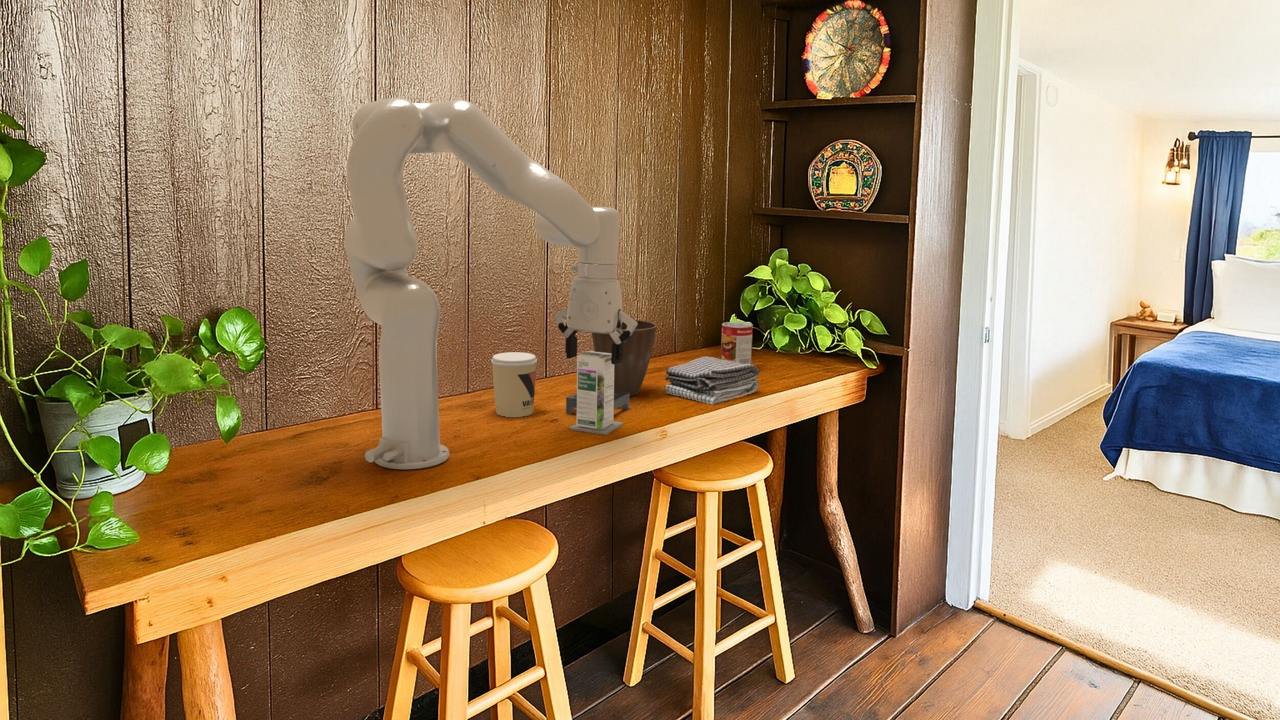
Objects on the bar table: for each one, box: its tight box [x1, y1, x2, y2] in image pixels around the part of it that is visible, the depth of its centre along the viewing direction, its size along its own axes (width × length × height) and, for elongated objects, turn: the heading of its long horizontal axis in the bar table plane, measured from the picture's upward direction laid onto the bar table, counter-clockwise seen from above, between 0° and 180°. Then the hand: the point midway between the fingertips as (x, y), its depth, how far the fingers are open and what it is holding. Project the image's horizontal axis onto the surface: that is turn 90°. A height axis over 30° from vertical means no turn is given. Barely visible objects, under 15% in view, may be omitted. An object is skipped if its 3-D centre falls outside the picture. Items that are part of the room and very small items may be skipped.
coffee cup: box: [490, 351, 538, 418], centre depth 180 cm, size 9×9×12 cm
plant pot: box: [591, 319, 657, 397], centre depth 198 cm, size 15×15×16 cm
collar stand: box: [565, 391, 631, 415], centre depth 183 cm, size 10×10×4 cm
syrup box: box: [575, 350, 615, 430], centre depth 170 cm, size 6×6×14 cm
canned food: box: [720, 321, 754, 364], centre depth 224 cm, size 8×8×12 cm
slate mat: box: [568, 420, 624, 436], centre depth 171 cm, size 8×8×1 cm
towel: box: [664, 356, 761, 406], centre depth 200 cm, size 15×18×8 cm
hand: (593, 360), depth 168 cm, fingers open, 9 cm apart
